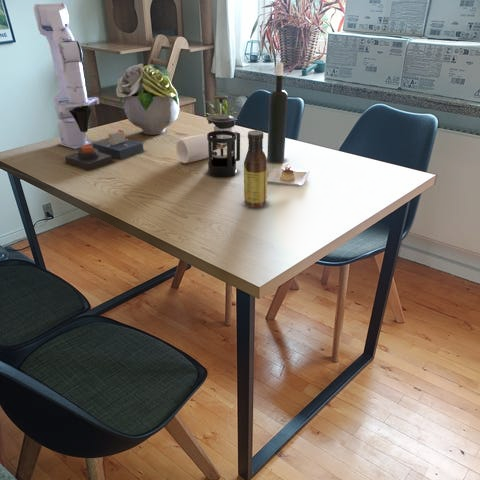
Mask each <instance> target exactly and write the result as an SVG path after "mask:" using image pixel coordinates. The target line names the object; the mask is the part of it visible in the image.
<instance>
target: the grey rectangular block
mask: <svg viewBox="0 0 480 480" xmlns="http://www.w3.org/2000/svg"><path fill="white" fill-rule="evenodd" d="M107 135H108V138H109V141H110V144H111V145H116V144H119V143H122V142H125V139H126V137H125V131H124V130H123V129H118V130H117V131H114V132H109V133H108V134H107Z"/></svg>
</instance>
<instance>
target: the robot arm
mask: <svg viewBox="0 0 480 480" xmlns="http://www.w3.org/2000/svg"><path fill="white" fill-rule="evenodd" d="M33 12H34V13H33V14H34V18H35V21H36V25H37V29H38V31H39V34H40V35H42V36H44V37H45V38H46V40H47V42H48V45H49V49H50V50H49V51H50V53H51V58H52V61H53V62H52V63H53V66H54V67H53V68H54V70H55V75H56V79H57V84H58V88H59V90H58V91H57V93H55V94H54V95H53V102H54V110H55V113H56V117H57V119H58V120H59V121H58V123H57V129H58V133H59V140H60V142H59V145H60V146H64V147H66V148H71V149H73V150H77V149H78V150H79V149H81V147H82V146H84V145H91V146H92V145H93V144H92V143H93V142H91V141H87V134H86V133H87V132H88V130H89V129H88V128H89V118H90V116H91V114H92V107H89V106H94V105H100V99H99V97H98V96H92V97H88V94H87V93H88V92H87V88H86V81H85V75H84V69H83V64H82V63H83V62H84V60H83V59H84V57H83V50H82V47H81V44H80V41H79V40H76V39H75V37H74V36H73V34H72V31H71V30H70V28H69V25H70V24H69V23H70V19H69V13H68V8H67V5H66V4H65V3H64V2H61V3H34V5H33Z"/></svg>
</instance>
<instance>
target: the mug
mask: <svg viewBox="0 0 480 480" xmlns="http://www.w3.org/2000/svg"><path fill="white" fill-rule="evenodd" d="M207 134H208V133H200V134H195V135H190V136H185V137H181V138H178V139H177V141H176V144H175V150H176V155H177V157H178V159H179V161H180V162H181V163H183V164H190V163H193V162H197V161H202V160H207V159H209V151H208V140H207Z"/></svg>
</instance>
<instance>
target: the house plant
mask: <svg viewBox="0 0 480 480" xmlns="http://www.w3.org/2000/svg"><path fill="white" fill-rule="evenodd" d="M203 101H204V102H206V103H207V104H208V105H209V108H210V109H212V110H213V111H214V113H213V114H209V113H208V112H206V114H207V116H206V117H205V119H207V117H208V116H211V115H217V114H221V105H220V102H219V99H216V101H217V106H218V109H217V108H216V107H214V105H213V104H212V103H211V102H209V101H207V100H203ZM236 103H237V102H235V103H234V104H233V106H232V107H231V109H230V110H229V112H228V101H227V100H226V99H223V103H222V114H226V115H233V114H235V113H237V112H236V111H233V110H234V109H235V107H236V105H237V104H236ZM218 110H219V111H218ZM232 111H233V112H232ZM219 130H221V129H219V128H218V127H216V126H215V125H214V124H213V131H219ZM222 130H224V131H231V132H233V127H232V128H227V129H222ZM231 137H232V136H230V135H222V139H225V138H231ZM217 138H218V139H221V135H217ZM217 145H220V146H221V143H217ZM222 146H227V143H222Z"/></svg>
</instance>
